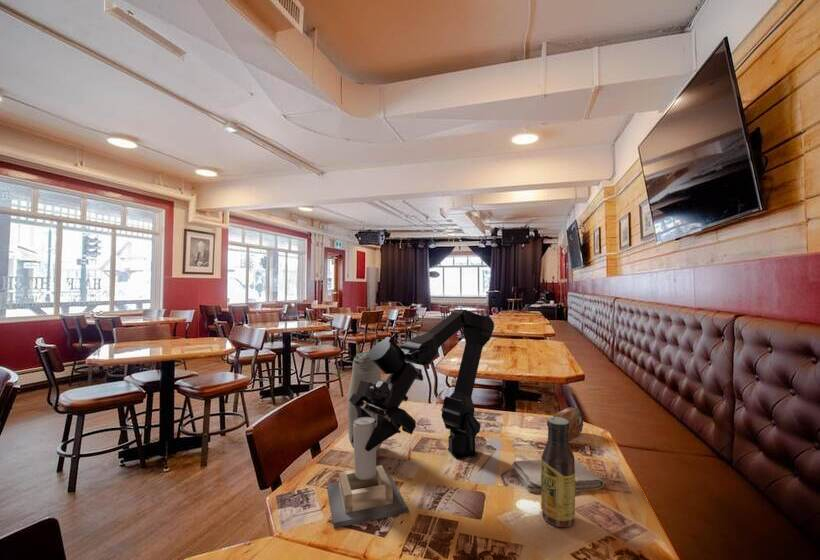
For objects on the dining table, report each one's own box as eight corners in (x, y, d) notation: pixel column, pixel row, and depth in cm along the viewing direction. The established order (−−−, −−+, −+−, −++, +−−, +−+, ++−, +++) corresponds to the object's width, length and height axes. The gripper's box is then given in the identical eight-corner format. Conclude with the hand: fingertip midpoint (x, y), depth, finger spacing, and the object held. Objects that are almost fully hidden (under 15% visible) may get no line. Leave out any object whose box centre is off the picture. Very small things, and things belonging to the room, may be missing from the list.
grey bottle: (342, 450, 107) (341, 352, 107) (373, 441, 113) (371, 348, 113) (360, 463, 99) (358, 357, 99) (391, 452, 105) (390, 352, 105)
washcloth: (509, 470, 94) (509, 458, 94) (575, 465, 97) (575, 453, 97) (530, 497, 83) (529, 483, 83) (605, 490, 85) (605, 477, 85)
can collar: (389, 477, 91) (389, 458, 91) (407, 512, 77) (407, 490, 77) (326, 488, 87) (326, 468, 87) (333, 528, 72) (333, 504, 73)
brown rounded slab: (558, 447, 107) (558, 417, 107) (548, 443, 109) (548, 414, 109) (584, 433, 116) (583, 406, 116) (574, 430, 119) (574, 403, 119)
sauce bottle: (536, 511, 77) (534, 414, 77) (565, 509, 77) (563, 412, 78) (550, 532, 70) (548, 425, 71) (582, 529, 71) (580, 424, 71)
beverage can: (364, 483, 79) (363, 426, 79) (349, 476, 82) (348, 421, 82) (380, 474, 82) (379, 419, 82) (366, 467, 85) (365, 415, 86)
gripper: (354, 359, 92) (314, 416, 84) (404, 372, 78) (361, 441, 70) (381, 385, 97) (345, 440, 90) (432, 401, 83) (394, 468, 76)
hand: (359, 446), depth 81 cm, fingers closed on beverage can, 5 cm apart
